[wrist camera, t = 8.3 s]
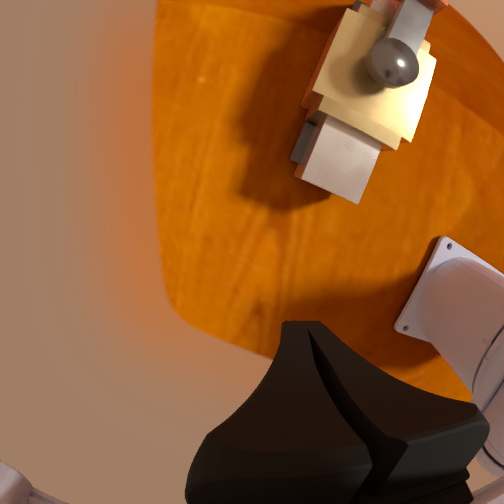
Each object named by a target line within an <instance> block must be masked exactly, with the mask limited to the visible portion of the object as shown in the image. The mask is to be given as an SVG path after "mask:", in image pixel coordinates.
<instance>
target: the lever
mask: <svg viewBox="0 0 504 504" xmlns="http://www.w3.org/2000/svg"><path fill="white" fill-rule="evenodd" d="M398 1H399V2H401V3H400V6H399V8H398V10H397V12H396V14H395V16H394V18H393V20H392V23H391V25H390V27H389V29H388V31H387V33H386V35H385V37H384V38H383V39H381V40H379V41H378V42H377V43H376V44H375V45H374V46H372V47H371V48H370V49H369V51H368V52H367V55H366V66H367V69H368V71H369V73H370V75H371V76H372V77H373V78H374V80H376V81H377V82H378V83H379V84H381V85H382V86H384V87H387V88H391V89H398V88H401V87H403V86H406V85H408V84H410V83H412V82H414V81H415V80H416V79H417V77H418V75H419V69H420V67H419V62H418V59H417V54H418V52H419V49H420V47H421V44H422V42H423V39H424V37H425V34H426V31H427V29H428V26H429V24H430V21H431V18H432V16H433V15H435V14H436V13H438V12H439V11H441V10H442V9H443V8H445V7H446V6H448V2H449V0H398Z"/></svg>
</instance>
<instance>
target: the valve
mask: <svg viewBox="0 0 504 504" xmlns="http://www.w3.org/2000/svg"><path fill="white" fill-rule="evenodd" d="M400 3H401V2H399V1H398V0H365V1H364V3H363V2H361V1H359V0H356V1H355V3H354V4H353V6H352V7H351V9H349V8H347V9H346V11H345V12H344V14H343V15H342V17H341V18H340V20H339V21H338V23H337V25H336V26H335V28H334V29H333V31H332V33H331V34H330V36H329V38H328V40H327V42H326V45H325V47H324V49H323V52H322V54H321V56H320V59H319V61H318V63H317V66H316V68H315V70H314V73H313V75H312V77H311V80H310V82H309V84H308V87H307V89H306V91H305V94H304V96H303V99H302V101H301V103H300V106H299V107H302V108H304V109H306V110H308V112H307V115H306V117H305V119H304V122H305V123H304V124H302V127H301V129H300V131H299V134H298V136H297V139H296V141H295V143H294V146H293V148H292V151H291V153H290V155H289V158H288V160H290V161H292V162H294V163H297V164H298V165H297V168H296V170H295V172H294V175H293V176H295V177H297V178H299V179H302V180H304V181H306V182H309V183H311V184H313V185H315V186H318V187H320V188H322V189H324V190H326V191H329V192H331V193H333V194H335V195H337V196H339V197H342V198H344V199H346V200H349V201H351V202H353V203H355V204H358V203H359V201H360V198H361V196H362V194H363V191H364V189H365V187H366V184H367V182H368V179H369V177H370V175H371V172H372V170H373V167H374V165H375V162H376V160H377V157H378V155H379V152H380V151H392V150H397V148H398V145H399V143H409V142H411V140H412V138H413V135H414V132H415V129H416V126H417V123H418V120H419V117H420V114H421V111H422V108H423V105H424V102H425V98H426V95H427V92H428V88H429V85H430V82H431V78H432V74H433V71H434V67H435V63H436V59H435V58H433V57H432V56H430V55H429V54H428V52H429V48H430V43H428V42H427V41H425V40H424V39H423V42H422V44H421V47H420V49H419V52H418V54H417V59H418V62H419V67H420V69H419V75H418V77H417V79H416V80H415V81H414V82H412V83H410V84H408V85H406V86H403V87H401V88H398V89H391V88H387V87H384V86H382V85H381V84H379V83H378V82H377V81H376V80H374V78H373V77H372V76H371V75H370V73H369V71H368V69H367V66H366V55H367V52H368V51H369V49H370V48H371V47H372V46H374V45H375V44H376V43H377V42H378V41H379V40H381V39H383V38H384V37H385V35H386V33H387V31H388V29H389V27H390V25H391V23H392V20H393V18H394V16H395V14H396V12H397V10H398V8H399V6H400Z"/></svg>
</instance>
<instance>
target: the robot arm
mask: <svg viewBox="0 0 504 504" xmlns="http://www.w3.org/2000/svg"><path fill="white" fill-rule="evenodd" d="M448 243H449V247H448V248H447V245H448ZM405 326H406V328H404V327H405ZM394 328H395V330H396V331H397V332H399V333H402V334H405V335H408V336H411V337H415V338H418V339H421V340H424V341H427V342H430V343H431V344H432V345H433V346H434V347H435V348H436V350H437V351H438V352H439V353H440V354H441V356H442V357H443V358H444V359H445V360H446V362H447V363H448V364H449V365H450V367H451V368H452V369H453V370H454V372H455V373H456V374H457V375H458V377H459V378H460V379H461V380H462V382H463V383H464V384H465V386H466V387H467V388H468V389H469V391H470V392H471V393H472V395H473V397H472V399H471V401H470V403H469V402H464V401H459V400H454V399H450V398H446V397H442V396H439V395H436V394H433V393H429V392H426V391H424V390H421V389H419V388H416V387H414V386H411V385H409V384H407V383H405V382H403V381H400V380H398V379H396V378H394V377H392V376H391V375H389V374H387V373H385V372H384V371H382V370H380V369H379V368H377V367H375V366H374V365H372V364H371V363H369V362H368V361H367V360H365V359H364V358H362V357H361V356H360V355H358V354H357V353H356V352H355V351H353V350H352V349H351V348H350V347H348V346H347V345H346V344H345V343H344V342H342V341H341V340H340V339H339V338H338V337H337V336H336V335H335V334H333V333H332V332H331V331H330V330H329V329H328V328H327V327H326V326H325V325H324V324H322V323H321V322H320V321H284V322H283V323H282V328H281V339H280V345H279V348H278V351H277V353H276V355H275V358H274V360H273V362H272V364H271V366H270V368H269V370H268V371H267V373H266V375H265V376H264V378H263V379H262V381H261V382H260V384H259V385H258V387H257V388H256V389H255V390H254V392H253V393H252V394H251V396H250V397H249V398H248V399H247V400H246V401H245V402H244V403H243V404H242V405H241V406H240V407H239V408H238V409H237V410H236V411H235V412H234V413H233V414H232V415H231V416H230V417H229V418H228V419H226V420H225V421H224V422H223V423H221V424H220V425H219V426H217V427H216V428H215V429H213V430H212V431H211V432H209V433H208V434H207V435H206V437H205V439H204V440H203V442H202V444H201V446H200V447H199V449H198V452H197V453H196V455H195V457H194V459H193V462H192V464H191V467H190V470H189V473H188V477H187V483H186V488H185V499H186V502H187V504H504V275H503V274H502V273H501V272H499V271H498V270H496V269H495V268H494V267H492V266H491V265H489V264H488V263H486V262H485V261H483V260H482V259H480V258H479V257H477V256H476V255H474V254H473V253H471V252H470V251H468V250H467V249H465V248H464V247H462V246H461V245H459V244H457V243H456V242H454V241H453V240H451V239H450V238H448V237H446V236H441V237H440V238H439V240H438V242H437V244H436V246H435V249H434V251H433V253H432V255H431V257H430V259H429V261H428V263H427V265H426V267H425V269H424V271H423V273H422V275H421V277H420V279H419V281H418V283H417V285H416V287H415V289H414V291H413V292H412V294H411V296H410V298H409V300H408V302H407V303H406V305H405V307H404V309H403V310H402V312H401V314H400V316H399V317H398V319H397V321H396V322H395V324H394ZM403 328H404V329H403ZM474 457H476V459H477V460H478V462H479V464H480V465H481V466H482V467H483V468H484V469H485V470H486V471H487V472H488V473H490V474H491V475H493V476H494V477H496V478H499V479H497V480H495V481H493V482H492V483H490V484H488V485H486V486H484V487H482V488H480V489H478V490H476V491H474V492H472V493H471V491H470V489H469V488H468V485H467V483H466V480H467V479H468V478H469V476H470V474H469V472H468V470H467V468H466V467H467V465H468V464H469V463H470V462H471V460H472V459H473V458H474ZM0 504H69V503H66V502H64V501H62V500H59V499H57V498H55V497H53V496H51V495H48V494H46V493H44V492H42V491H40V490H38V489H36V488H34V487H33V486H32V484H31V483H30V482H29V481H28V479H27V478H25V476H23V474H21V473H20V472H19V471H18V470H16V469H15V468H13V467H11V466H10V465H8V464H6V463H4V462H3V461H1V460H0Z"/></svg>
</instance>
